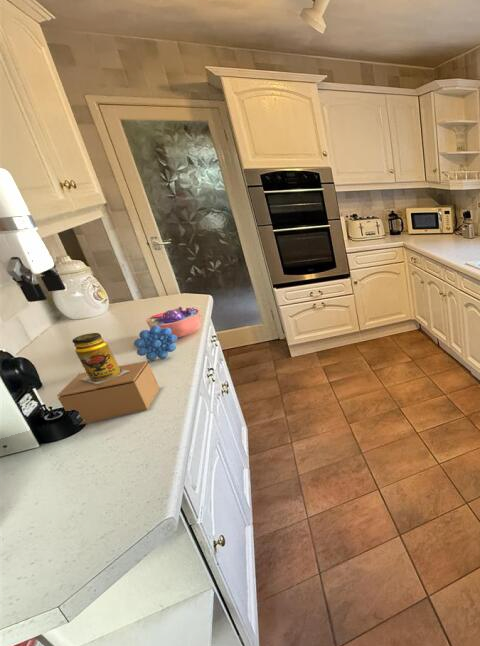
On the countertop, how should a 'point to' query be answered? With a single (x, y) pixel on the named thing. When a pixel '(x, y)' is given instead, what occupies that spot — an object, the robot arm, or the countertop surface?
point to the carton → (115, 395)
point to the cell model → (177, 321)
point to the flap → (78, 385)
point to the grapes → (155, 342)
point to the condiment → (96, 358)
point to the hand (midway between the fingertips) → (48, 295)
